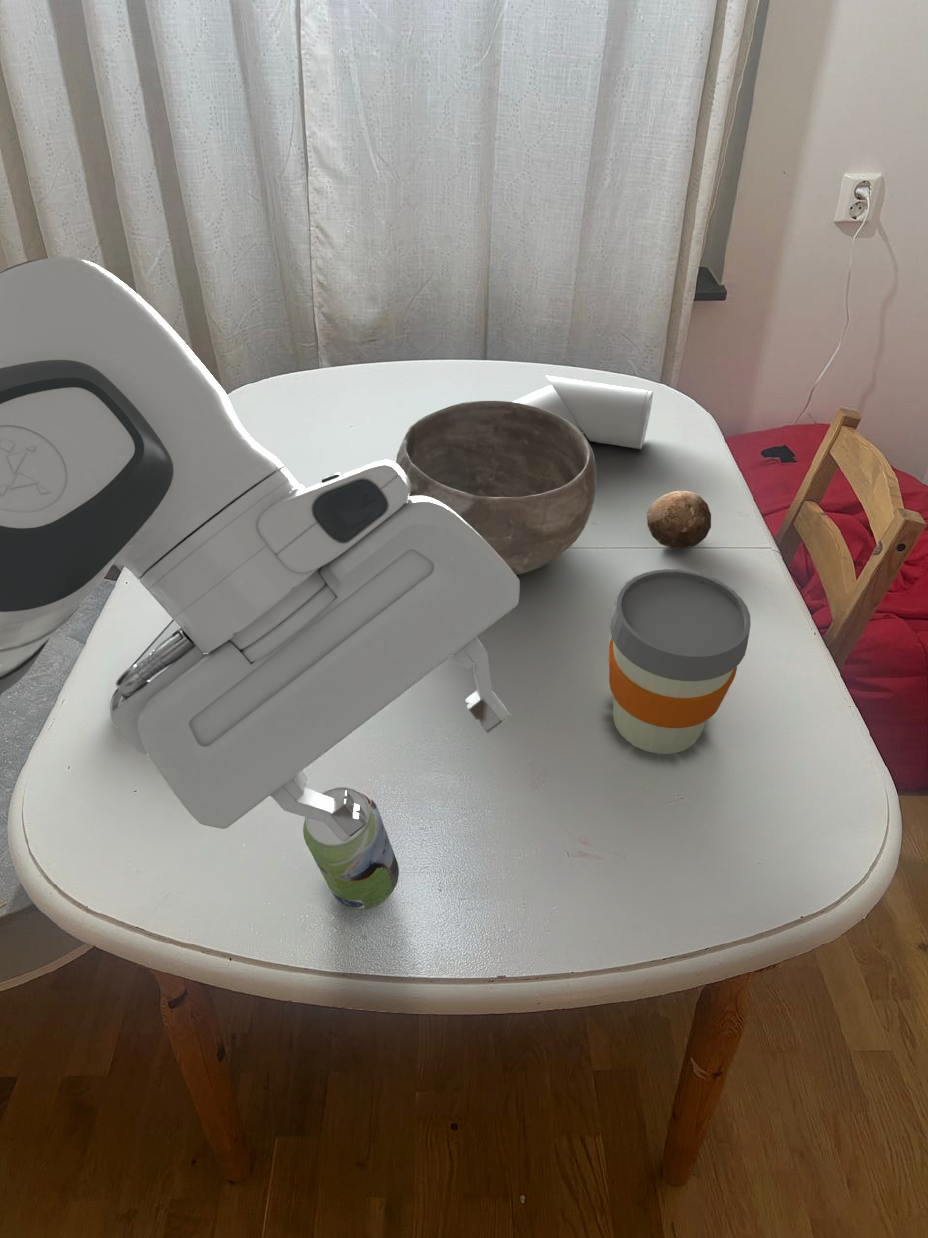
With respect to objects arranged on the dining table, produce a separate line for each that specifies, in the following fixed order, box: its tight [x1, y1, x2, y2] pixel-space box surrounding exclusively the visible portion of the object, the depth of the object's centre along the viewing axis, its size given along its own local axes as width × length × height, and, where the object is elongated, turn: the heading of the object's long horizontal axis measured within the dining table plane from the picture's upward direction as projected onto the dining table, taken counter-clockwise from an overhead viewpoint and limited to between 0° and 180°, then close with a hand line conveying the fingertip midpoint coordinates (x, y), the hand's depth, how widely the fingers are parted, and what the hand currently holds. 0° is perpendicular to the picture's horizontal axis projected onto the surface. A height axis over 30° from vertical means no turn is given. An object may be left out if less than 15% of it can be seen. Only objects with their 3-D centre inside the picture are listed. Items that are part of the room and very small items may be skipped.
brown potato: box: [646, 490, 712, 549], centre depth 109 cm, size 8×8×6 cm
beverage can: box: [302, 786, 400, 911], centre depth 69 cm, size 6×7×12 cm
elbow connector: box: [512, 375, 654, 450], centre depth 125 cm, size 18×11×20 cm
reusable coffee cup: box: [608, 568, 752, 755], centre depth 82 cm, size 13×13×15 cm
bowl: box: [395, 400, 597, 576], centre depth 104 cm, size 24×24×15 cm
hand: (426, 775), depth 45 cm, fingers open, 8 cm apart
